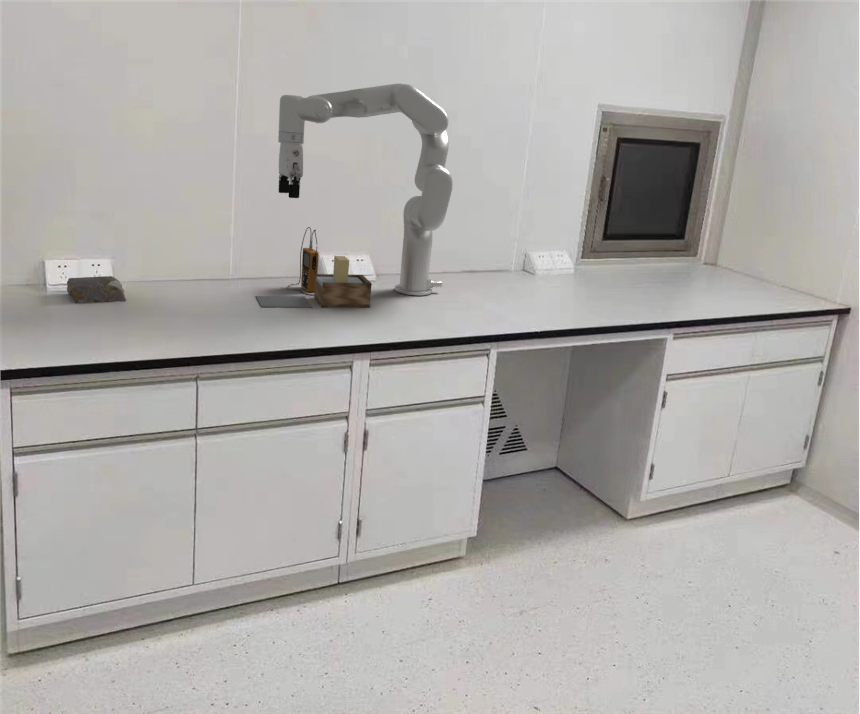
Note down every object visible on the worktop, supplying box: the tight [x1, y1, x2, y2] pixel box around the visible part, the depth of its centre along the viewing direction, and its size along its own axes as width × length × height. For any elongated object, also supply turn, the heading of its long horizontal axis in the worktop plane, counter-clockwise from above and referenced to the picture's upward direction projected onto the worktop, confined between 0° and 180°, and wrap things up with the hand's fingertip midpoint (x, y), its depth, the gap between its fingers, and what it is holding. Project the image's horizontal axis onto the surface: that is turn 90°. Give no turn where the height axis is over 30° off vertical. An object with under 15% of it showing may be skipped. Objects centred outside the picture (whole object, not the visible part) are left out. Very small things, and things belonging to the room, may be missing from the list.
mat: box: [255, 295, 313, 309], centre depth 260 cm, size 15×12×1 cm
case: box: [313, 273, 373, 309], centre depth 265 cm, size 15×11×8 cm
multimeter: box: [280, 226, 320, 296], centre depth 273 cm, size 15×10×20 cm
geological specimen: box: [66, 275, 127, 304], centre depth 245 cm, size 11×6×15 cm
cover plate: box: [316, 255, 363, 286], centre depth 263 cm, size 13×9×8 cm
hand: (288, 195), depth 264 cm, fingers open, 9 cm apart
